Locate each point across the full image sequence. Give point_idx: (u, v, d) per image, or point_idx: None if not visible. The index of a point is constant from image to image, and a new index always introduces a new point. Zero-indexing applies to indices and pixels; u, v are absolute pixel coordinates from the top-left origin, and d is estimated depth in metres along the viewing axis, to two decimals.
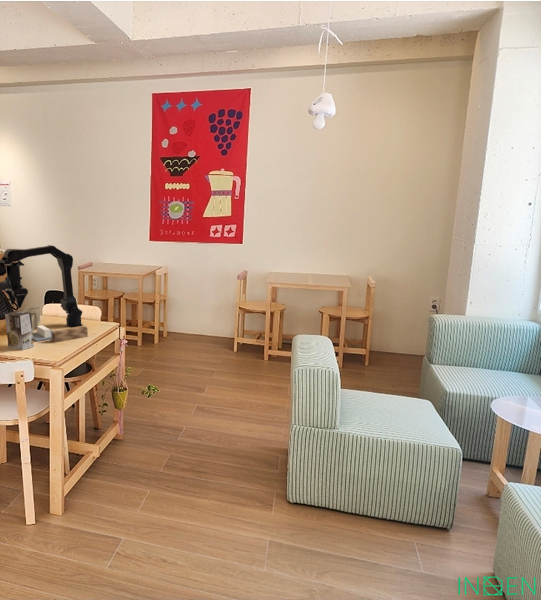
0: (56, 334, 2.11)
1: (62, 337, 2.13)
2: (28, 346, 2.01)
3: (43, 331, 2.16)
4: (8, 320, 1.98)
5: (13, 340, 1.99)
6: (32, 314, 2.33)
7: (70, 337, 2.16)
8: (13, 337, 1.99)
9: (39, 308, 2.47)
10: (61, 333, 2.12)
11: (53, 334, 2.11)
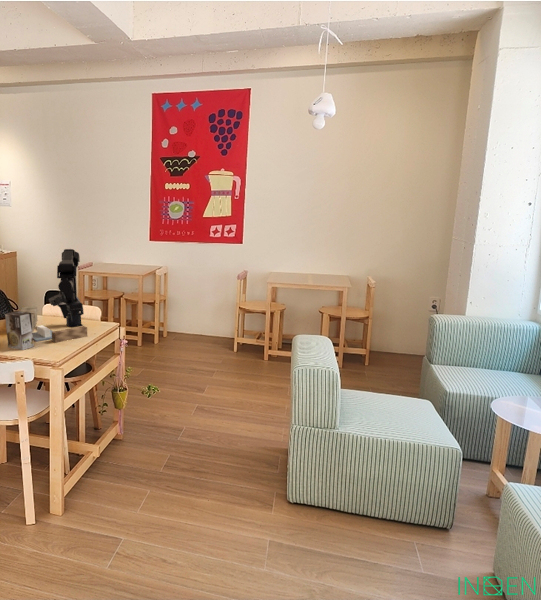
0: (57, 334, 2.10)
1: (63, 337, 2.13)
2: (28, 346, 2.01)
3: (43, 331, 2.16)
4: (8, 320, 1.98)
5: (13, 340, 1.99)
6: (31, 314, 2.33)
7: (70, 337, 2.16)
8: (13, 337, 1.99)
9: (36, 308, 2.47)
10: (61, 333, 2.12)
11: (54, 334, 2.10)
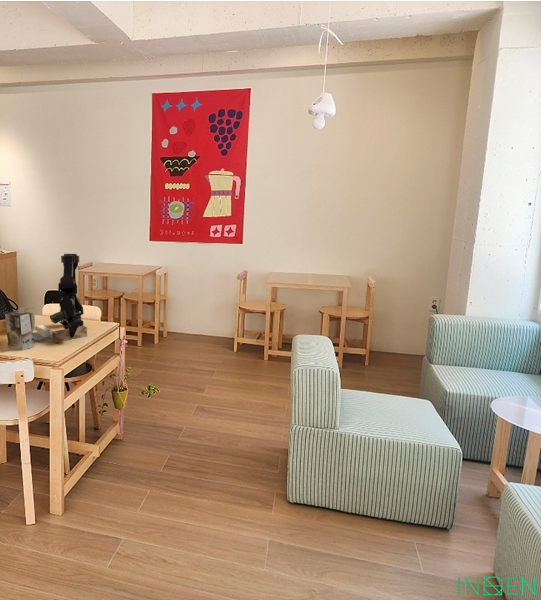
0: (57, 334, 2.10)
1: (63, 337, 2.13)
2: (28, 346, 2.01)
3: (43, 331, 2.16)
4: (8, 320, 1.98)
5: (13, 340, 1.99)
6: None
7: None
8: (13, 337, 1.99)
9: (34, 308, 2.47)
10: (62, 333, 2.12)
11: (54, 334, 2.10)
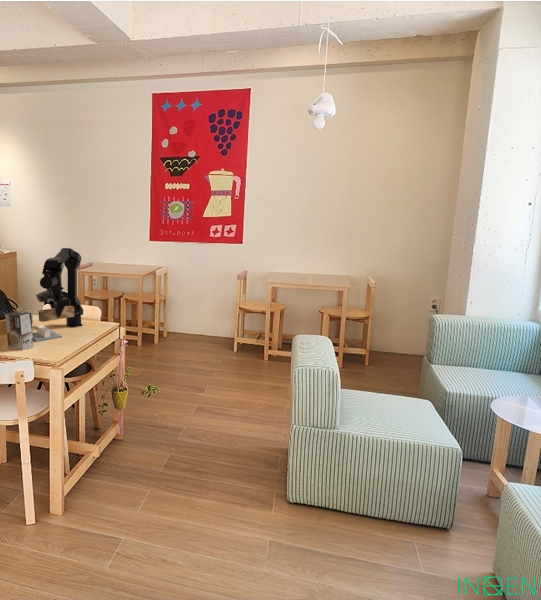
0: (43, 313, 2.09)
1: (49, 316, 2.12)
2: (28, 346, 2.01)
3: (43, 331, 2.16)
4: (8, 320, 1.98)
5: (13, 340, 1.99)
6: None
7: None
8: (13, 337, 1.99)
9: (32, 308, 2.46)
10: (48, 312, 2.11)
11: (40, 313, 2.09)
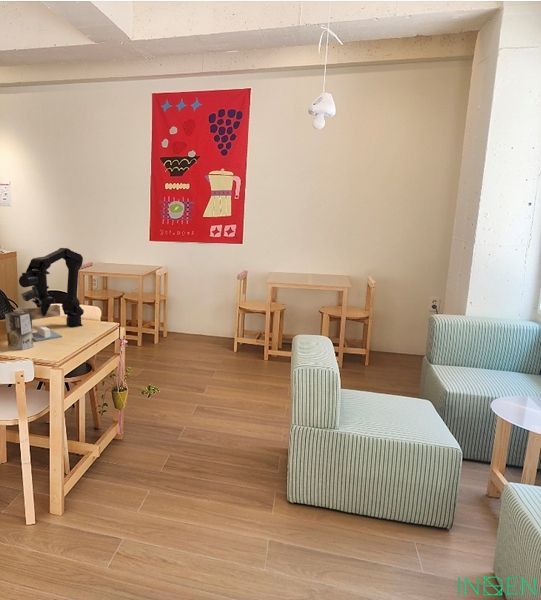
0: (28, 312, 2.11)
1: (35, 315, 2.13)
2: (28, 346, 2.01)
3: (43, 331, 2.16)
4: (8, 320, 1.98)
5: (13, 340, 1.99)
6: None
7: (42, 315, 2.16)
8: (13, 337, 1.99)
9: None
10: (33, 311, 2.12)
11: None
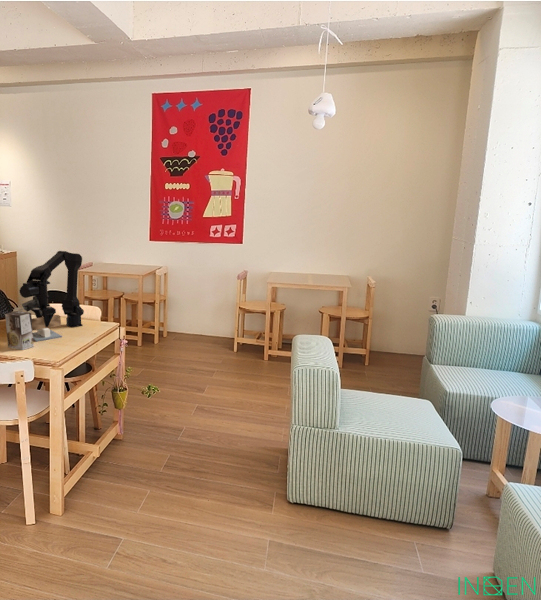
0: None
1: (35, 325, 2.14)
2: (28, 346, 2.01)
3: (43, 331, 2.16)
4: (8, 320, 1.98)
5: (13, 340, 1.99)
6: None
7: (43, 325, 2.17)
8: (13, 337, 1.99)
9: None
10: (34, 321, 2.13)
11: None
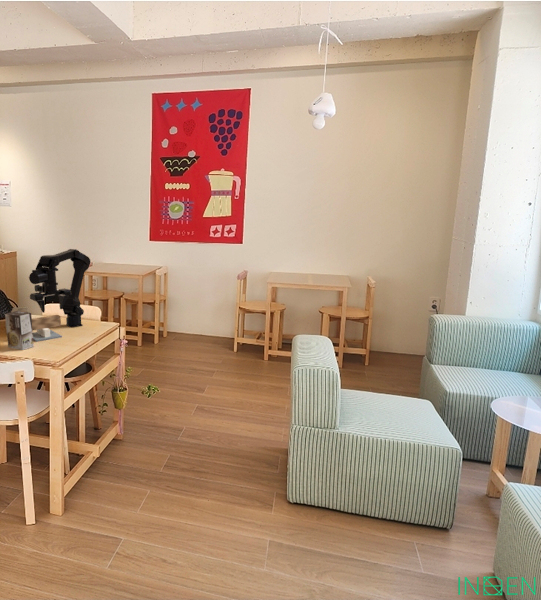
0: None
1: (35, 325, 2.14)
2: (28, 346, 2.01)
3: (43, 331, 2.16)
4: (8, 320, 1.98)
5: (13, 340, 1.99)
6: None
7: (43, 325, 2.17)
8: (13, 337, 1.99)
9: (28, 308, 2.46)
10: (34, 321, 2.13)
11: None
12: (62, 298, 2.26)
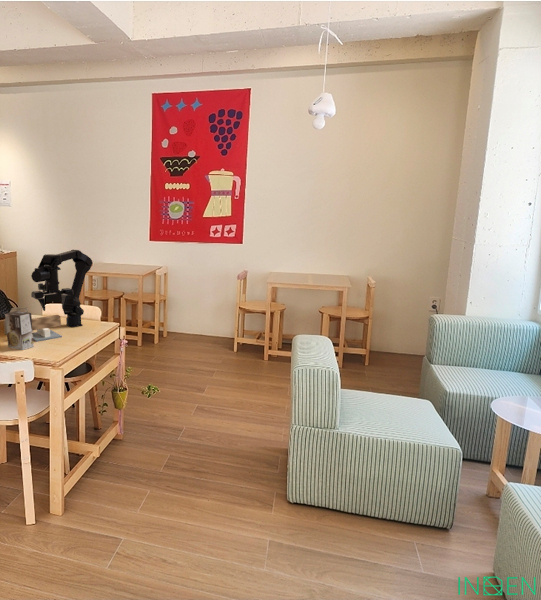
0: None
1: (35, 325, 2.14)
2: (28, 346, 2.01)
3: (43, 331, 2.16)
4: (8, 320, 1.98)
5: (13, 340, 1.99)
6: None
7: (43, 325, 2.17)
8: (13, 337, 1.99)
9: (27, 308, 2.46)
10: (34, 321, 2.13)
11: None
12: (64, 297, 2.27)
